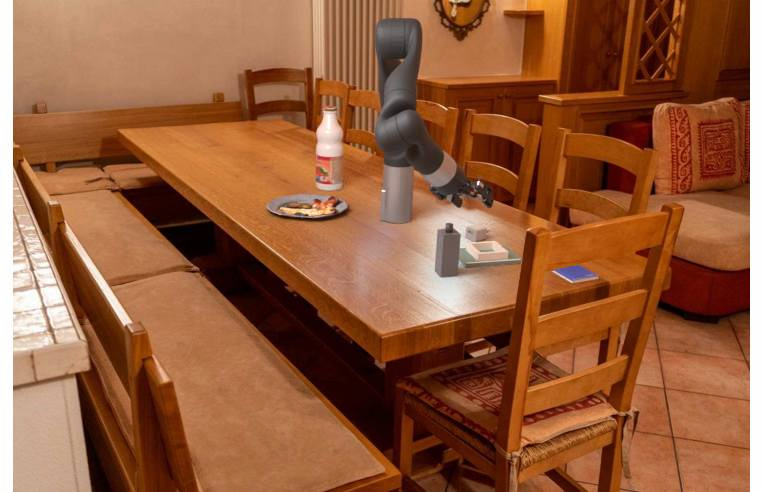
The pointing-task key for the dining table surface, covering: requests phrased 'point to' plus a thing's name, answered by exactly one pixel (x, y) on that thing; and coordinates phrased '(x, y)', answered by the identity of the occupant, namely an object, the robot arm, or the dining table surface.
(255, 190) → the dining table surface
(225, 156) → the dining table surface
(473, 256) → the board
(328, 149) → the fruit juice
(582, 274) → the blue book
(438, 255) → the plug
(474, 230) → the usb wall charger
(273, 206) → the food plate
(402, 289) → the dining table surface
